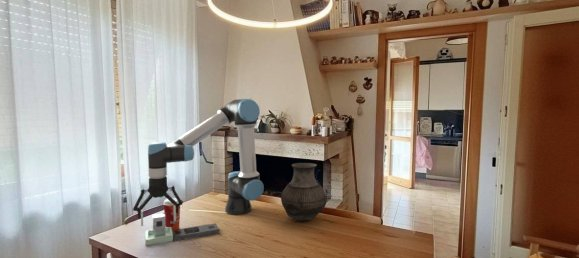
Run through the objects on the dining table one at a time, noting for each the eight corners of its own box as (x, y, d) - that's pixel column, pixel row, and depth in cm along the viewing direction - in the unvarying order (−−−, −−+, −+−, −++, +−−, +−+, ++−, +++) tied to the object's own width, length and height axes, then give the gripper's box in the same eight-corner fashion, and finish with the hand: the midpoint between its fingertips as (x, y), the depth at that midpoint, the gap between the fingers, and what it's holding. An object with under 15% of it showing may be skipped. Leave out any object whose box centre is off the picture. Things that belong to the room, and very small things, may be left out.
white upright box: (165, 233, 136) (164, 212, 135) (165, 238, 131) (165, 216, 131) (153, 235, 134) (152, 214, 133) (153, 240, 129) (153, 218, 129)
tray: (171, 231, 140) (171, 226, 140) (173, 240, 130) (172, 235, 130) (145, 235, 135) (145, 230, 135) (145, 245, 125) (145, 239, 125)
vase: (321, 231, 141) (321, 170, 139) (273, 225, 149) (274, 167, 147) (330, 214, 165) (331, 162, 163) (289, 209, 172) (289, 159, 170)
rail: (215, 227, 146) (215, 223, 146) (219, 233, 138) (219, 228, 138) (173, 234, 137) (172, 229, 137) (174, 241, 130) (174, 236, 130)
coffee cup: (175, 234, 138) (174, 203, 137) (159, 232, 139) (159, 201, 138) (184, 227, 146) (184, 197, 145) (170, 225, 147) (169, 196, 147)
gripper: (186, 172, 140) (186, 215, 141) (126, 177, 129) (128, 224, 130) (188, 175, 133) (188, 221, 134) (125, 181, 122) (127, 230, 123)
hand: (158, 222), depth 132 cm, fingers open, 13 cm apart
